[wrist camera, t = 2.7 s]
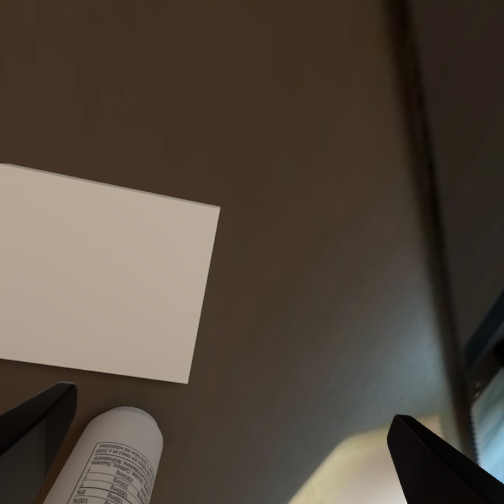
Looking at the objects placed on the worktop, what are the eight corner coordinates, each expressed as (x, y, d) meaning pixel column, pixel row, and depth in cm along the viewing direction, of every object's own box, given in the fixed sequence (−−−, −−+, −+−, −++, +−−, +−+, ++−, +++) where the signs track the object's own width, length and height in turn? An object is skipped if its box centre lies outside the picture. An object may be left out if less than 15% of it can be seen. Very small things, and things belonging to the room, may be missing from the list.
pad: (220, 207, 20) (219, 209, 19) (189, 374, 23) (187, 383, 22) (9, 163, 19) (-3, 163, 18) (7, 349, 22) (-4, 357, 21)
